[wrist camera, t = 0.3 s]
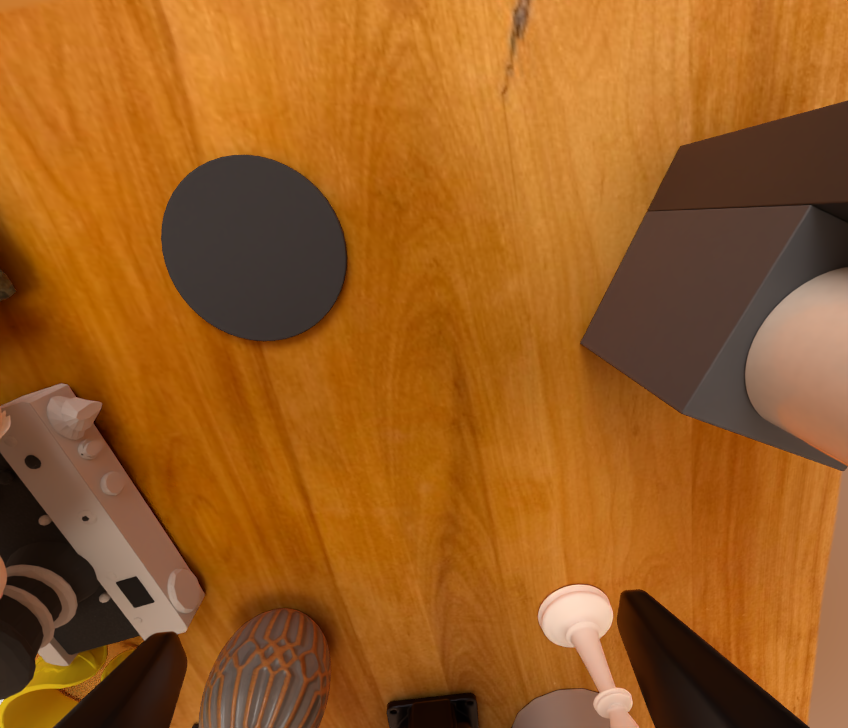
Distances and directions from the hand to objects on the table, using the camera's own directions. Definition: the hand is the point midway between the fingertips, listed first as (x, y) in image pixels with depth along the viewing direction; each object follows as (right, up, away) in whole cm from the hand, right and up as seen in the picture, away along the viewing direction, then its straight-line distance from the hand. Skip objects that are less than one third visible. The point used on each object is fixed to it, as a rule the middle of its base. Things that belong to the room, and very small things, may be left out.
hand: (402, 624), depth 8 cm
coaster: (-8, +10, +11) cm, 17 cm away
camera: (-19, -4, +16) cm, 25 cm away
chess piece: (+11, -12, +20) cm, 25 cm away
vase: (-9, -12, +19) cm, 25 cm away
